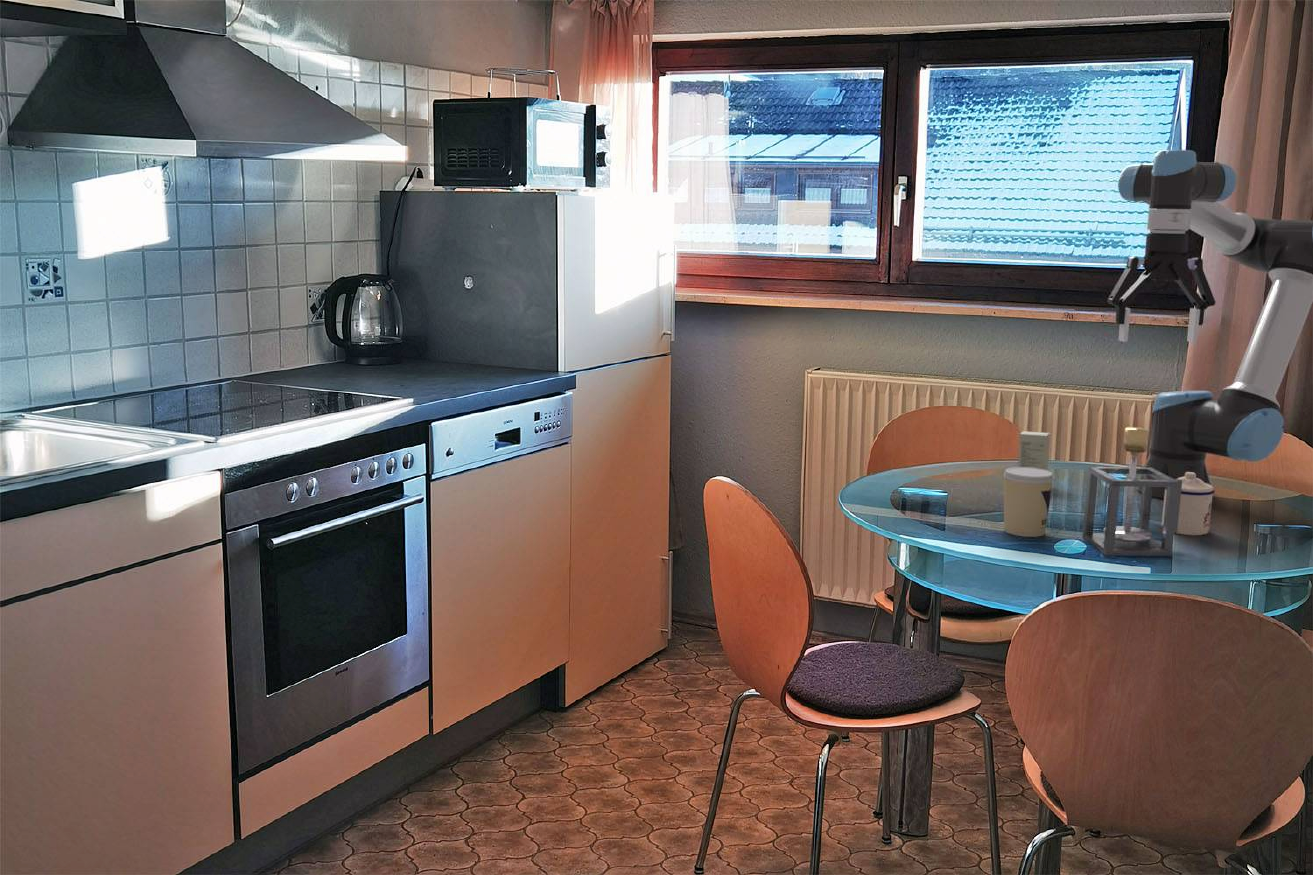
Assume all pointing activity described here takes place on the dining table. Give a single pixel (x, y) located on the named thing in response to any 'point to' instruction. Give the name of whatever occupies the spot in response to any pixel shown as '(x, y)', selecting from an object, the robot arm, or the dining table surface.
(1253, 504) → the dining table surface
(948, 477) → the dining table surface
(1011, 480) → the cream lidded tub
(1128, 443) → the plunger
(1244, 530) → the dining table surface
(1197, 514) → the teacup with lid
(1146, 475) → the press frame
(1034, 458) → the skincare box
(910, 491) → the dining table surface
